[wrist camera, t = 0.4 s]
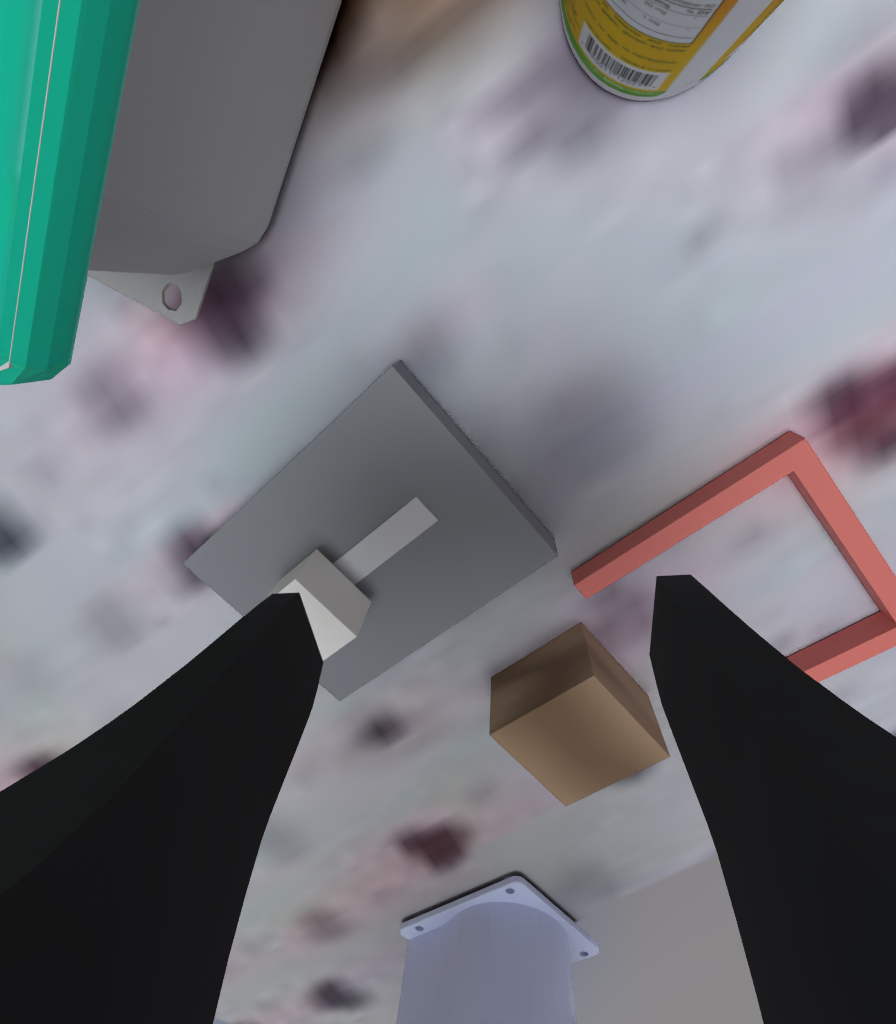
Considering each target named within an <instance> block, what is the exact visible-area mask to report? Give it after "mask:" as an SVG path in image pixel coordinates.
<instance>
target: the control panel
mask: <svg viewBox="0 0 896 1024" xmlns="http://www.w3.org/2000/svg"><path fill="white" fill-rule="evenodd" d="M341 2H342V0H0V385H12V384H20V383H27V382H35V381H42V380H50V379H52V378H53V377H54V376H56V375H57V374H58V373H59V372H60V371H62V370H63V369H64V368H65V367H67V366H68V365H69V364H70V363H71V359H72V353H73V348H74V343H75V338H76V333H77V327H78V322H79V317H80V312H81V307H82V301H83V296H84V291H85V286H86V281H87V275H88V276H90V277H92V278H94V279H96V280H98V281H99V282H101V283H103V284H105V285H107V286H109V287H111V288H112V289H114V290H116V291H118V292H120V293H122V294H123V295H125V296H127V297H129V298H131V299H133V300H135V301H136V302H138V303H140V304H142V305H144V306H146V307H147V308H149V309H151V310H153V311H155V312H157V313H159V314H160V315H162V316H164V317H166V318H168V319H170V320H172V321H173V322H175V323H177V324H179V325H182V324H185V323H188V322H191V321H194V320H196V319H198V317H199V314H200V310H201V307H202V304H203V301H204V298H205V294H206V291H207V288H208V285H209V282H210V278H211V275H212V272H213V269H214V265H215V262H217V261H220V260H222V259H225V258H228V257H230V256H233V255H235V254H238V253H241V252H243V251H245V250H247V249H248V248H250V247H252V246H253V245H255V244H257V243H258V242H259V240H260V239H261V237H262V235H263V234H264V232H265V231H266V229H267V227H268V226H269V223H270V220H271V217H272V214H273V211H274V208H275V205H276V201H277V198H278V195H279V192H280V189H281V186H282V183H283V180H284V177H285V174H286V171H287V168H288V165H289V162H290V158H291V155H292V152H293V149H294V146H295V143H296V140H297V137H298V134H299V131H300V128H301V125H302V122H303V119H304V115H305V112H306V109H307V106H308V103H309V100H310V97H311V94H312V91H313V88H314V85H315V82H316V79H317V75H318V72H319V69H320V66H321V63H322V60H323V57H324V54H325V51H326V48H327V45H328V42H329V39H330V36H331V32H332V29H333V26H334V23H335V20H336V17H337V14H338V11H339V8H340V5H341ZM169 284H175V285H176V286H177V287H178V288H179V289H180V290H181V296H182V304H181V305H180V306H179V307H178V309H177V310H171V309H170V308H169V307H168V306H167V305H166V304H165V300H164V291H165V290H166V288H167V287H168V285H169Z"/></svg>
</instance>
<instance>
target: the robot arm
mask: <svg viewBox="0 0 896 1024" xmlns="http://www.w3.org/2000/svg"><path fill="white" fill-rule="evenodd" d="M650 659H651V663H652V667H653V671H654V675H655V679H656V684H657V687H658V691H659V695H660V699H661V703H662V706H663V709H664V711H665V714H666V717H667V719H668V722H669V725H670V727H671V730H672V733H673V735H674V738H675V741H676V743H677V746H678V749H679V751H680V754H681V756H682V759H683V762H684V764H685V767H686V769H687V772H688V775H689V777H690V780H691V782H692V785H693V788H694V790H695V793H696V795H697V798H698V801H699V803H700V806H701V808H702V811H703V814H704V816H705V819H706V821H707V824H708V827H709V830H710V833H711V836H712V839H713V842H714V845H715V848H716V851H717V854H718V857H719V861H720V864H721V868H722V871H723V875H724V878H725V882H726V885H727V889H728V892H729V896H730V899H731V902H732V906H733V910H734V913H735V917H736V921H737V924H738V928H739V932H740V935H741V939H742V943H743V946H744V950H745V954H746V958H747V961H748V965H749V968H750V972H751V976H752V980H753V984H754V987H755V991H756V995H757V999H758V1003H759V1006H760V1011H761V1014H762V1019H763V1022H764V1024H896V737H895V736H893V735H892V734H890V733H889V732H887V731H886V730H884V729H883V728H881V727H880V726H878V725H877V724H875V723H874V722H872V721H871V720H869V719H868V718H866V717H865V716H864V715H862V714H861V713H859V712H858V711H856V710H855V709H854V708H852V707H851V706H849V705H848V704H847V703H845V702H844V701H842V700H841V699H840V698H838V697H837V696H836V695H834V694H833V693H832V692H830V691H829V690H828V689H826V688H825V687H824V686H822V685H821V684H820V683H818V682H817V681H816V680H814V679H813V678H812V677H810V676H809V675H808V674H806V673H805V672H804V671H802V670H801V669H800V668H799V667H797V666H796V665H795V664H794V663H792V662H791V661H790V660H789V659H787V658H786V657H785V656H784V655H782V654H781V653H780V652H779V651H778V650H776V649H775V648H774V647H773V646H772V645H770V644H769V643H768V642H767V641H766V640H764V639H763V638H762V637H761V636H759V635H758V634H757V633H756V632H755V631H754V630H752V629H751V628H750V627H749V626H748V625H747V624H746V623H744V622H743V621H742V620H741V619H740V618H739V617H738V616H736V615H735V614H734V613H733V612H732V611H731V610H730V609H729V608H727V607H726V606H725V605H724V604H723V603H722V602H721V601H720V600H718V599H717V598H716V597H715V596H714V595H713V594H712V593H711V592H710V591H708V590H707V589H706V588H705V587H704V586H703V585H702V584H701V583H699V582H698V581H697V580H696V579H695V578H694V577H693V576H691V575H674V576H657V578H656V589H655V600H654V611H653V622H652V633H651V644H650ZM322 667H323V660H322V657H321V654H320V651H319V648H318V645H317V642H316V639H315V636H314V634H313V631H312V628H311V625H310V622H309V619H308V616H307V613H306V610H305V607H304V605H303V602H302V599H301V596H300V593H277V594H271V595H270V596H269V597H267V598H266V599H265V600H263V601H262V602H261V603H259V604H258V605H257V606H256V607H255V608H253V609H252V610H251V611H250V612H248V613H247V614H246V615H245V616H244V617H242V618H241V619H240V620H239V621H238V622H237V623H235V624H234V625H233V626H232V627H231V628H229V629H228V630H227V631H226V632H225V633H224V634H222V635H221V636H220V637H219V638H218V639H216V640H215V641H214V642H213V643H212V644H210V645H209V646H208V647H207V648H206V649H204V650H203V651H202V652H201V653H200V654H198V655H197V656H196V657H195V658H194V659H192V660H191V661H190V662H189V663H188V664H186V665H185V666H184V667H182V668H181V669H180V670H179V671H177V672H176V673H175V674H173V675H172V676H171V677H170V678H168V679H167V680H166V681H165V682H163V683H162V684H161V685H159V686H158V687H157V688H156V689H154V690H153V691H152V692H150V693H149V694H148V695H147V696H145V697H144V698H143V699H141V700H140V701H139V702H137V703H136V704H135V705H133V706H132V707H131V708H129V709H128V710H127V711H125V712H124V713H122V714H121V715H120V716H118V717H117V718H115V719H114V720H113V721H111V722H110V723H108V724H107V725H105V726H104V727H102V728H101V729H99V730H98V731H96V732H95V733H93V734H92V735H91V736H89V737H88V738H86V739H85V740H83V741H82V742H80V743H79V744H77V745H76V746H74V747H73V748H71V749H69V750H68V751H66V752H65V753H63V754H62V755H60V756H58V757H57V758H55V759H53V760H52V761H50V762H48V763H47V764H45V765H43V766H42V767H40V768H39V769H37V770H35V771H34V772H32V773H30V774H29V775H27V776H25V777H24V778H22V779H20V780H19V781H17V782H16V783H14V784H12V785H11V786H9V787H7V788H6V789H4V790H2V791H1V792H0V1024H213V1021H214V1016H215V1012H216V1008H217V1004H218V1000H219V996H220V991H221V987H222V983H223V979H224V975H225V971H226V966H227V962H228V958H229V954H230V951H231V947H232V943H233V939H234V936H235V932H236V928H237V924H238V921H239V917H240V913H241V909H242V906H243V902H244V898H245V895H246V891H247V888H248V884H249V881H250V877H251V874H252V871H253V867H254V864H255V860H256V857H257V854H258V850H259V847H260V843H261V840H262V837H263V834H264V831H265V829H266V826H267V823H268V820H269V817H270V814H271V812H272V809H273V807H274V804H275V802H276V799H277V797H278V794H279V792H280V789H281V787H282V784H283V782H284V779H285V777H286V774H287V772H288V769H289V767H290V764H291V762H292V759H293V757H294V754H295V752H296V749H297V746H298V744H299V741H300V739H301V736H302V734H303V731H304V728H305V726H306V723H307V721H308V718H309V715H310V713H311V710H312V707H313V703H314V699H315V696H316V692H317V688H318V684H319V680H320V676H321V671H322ZM400 934H401V935H402V936H403V937H405V938H406V939H407V940H409V941H408V948H407V955H406V962H405V969H404V976H403V982H402V989H401V996H400V1003H399V1010H398V1017H397V1023H396V1024H577V1019H576V1009H575V999H574V989H573V979H572V969H571V963H574V962H577V961H580V960H583V959H586V958H589V957H592V956H595V955H597V954H598V953H599V944H598V943H597V942H596V941H595V940H594V939H593V938H592V937H591V936H589V935H588V934H587V933H586V932H585V931H583V930H582V929H581V928H580V927H579V926H578V925H577V924H576V923H574V922H573V921H572V920H571V919H570V918H569V917H568V916H566V915H565V914H564V913H563V912H562V911H561V910H559V909H558V908H557V907H556V906H555V905H554V904H553V903H551V902H550V901H549V900H548V899H547V898H546V897H545V896H543V895H542V894H541V893H540V892H539V891H538V890H536V889H535V888H534V887H533V886H532V885H531V884H530V883H528V882H527V881H526V880H525V879H524V878H522V877H521V876H512V877H509V878H507V879H505V880H502V881H500V882H498V883H495V884H493V885H490V886H488V887H486V888H483V889H481V890H479V891H476V892H474V893H472V894H469V895H467V896H465V897H462V898H460V899H458V900H455V901H453V902H450V903H448V904H446V905H443V906H441V907H439V908H436V909H434V910H432V911H429V912H427V913H425V914H422V915H420V916H418V917H415V918H413V919H410V920H408V921H406V922H404V923H402V924H401V927H400Z"/></svg>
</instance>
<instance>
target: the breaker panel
mask: <svg viewBox="0 0 896 1024" xmlns="http://www.w3.org/2000/svg"><path fill="white" fill-rule="evenodd" d="M316 549H317V550H318V551H319V552H320V553H321V554H322V555H324V556H325V557H326V558H327V559H328V560H329V561H330V562H331V563H332V564H333V565H334V566H335V567H336V568H337V569H338V570H339V571H340V572H341V573H342V574H343V575H344V576H345V577H346V578H347V579H348V580H349V581H350V582H351V583H352V584H354V585H355V586H356V587H357V588H358V589H359V590H360V591H361V592H362V593H363V594H364V595H365V596H366V597H367V598H368V599H369V600H370V601H371V605H370V607H369V609H368V612H367V614H366V616H365V619H364V621H363V623H362V626H361V628H360V630H359V633H358V635H357V637H356V638H354V639H353V640H352V641H350V642H349V643H347V644H346V645H345V646H343V647H342V648H340V649H339V650H338V651H336V652H335V653H333V654H332V655H331V656H329V657H328V658H327V659H325V660H324V661H323V667H322V671H321V676H320V680H319V684H320V685H322V686H323V687H324V688H325V689H326V690H327V691H328V692H330V693H331V694H332V695H333V696H334V697H335V698H336V699H337V700H339V701H341V700H342V699H344V698H345V697H347V696H348V695H350V694H351V693H353V692H354V691H356V690H357V689H359V688H360V687H362V686H363V685H365V684H366V683H368V682H369V681H371V680H372V679H374V678H375V677H377V676H378V675H380V674H381V673H383V672H384V671H386V670H387V669H389V668H390V667H392V666H393V665H395V664H396V663H398V662H399V661H401V660H402V659H404V658H405V657H407V656H408V655H410V654H411V653H413V652H414V651H416V650H417V649H419V648H420V647H422V646H423V645H425V644H426V643H428V642H429V641H431V640H432V639H434V638H435V637H437V636H438V635H440V634H441V633H443V632H444V631H446V630H447V629H449V628H450V627H452V626H453V625H455V624H456V623H458V622H459V621H461V620H462V619H464V618H465V617H467V616H468V615H470V614H471V613H473V612H474V611H476V610H477V609H479V608H480V607H482V606H483V605H485V604H486V603H488V602H489V601H491V600H492V599H494V598H495V597H497V596H498V595H500V594H501V593H503V592H504V591H505V590H507V589H508V588H510V587H511V586H513V585H514V584H516V583H517V582H519V581H520V580H522V579H523V578H525V577H526V576H528V575H529V574H531V573H532V572H534V571H535V570H537V569H538V568H540V567H541V566H543V565H544V564H546V563H547V562H549V561H550V560H552V559H553V558H555V557H556V556H558V555H557V550H556V545H555V540H554V537H553V536H552V535H551V534H550V532H549V531H548V530H547V529H546V528H545V527H544V526H543V524H542V523H541V522H540V521H539V520H538V519H537V517H536V516H535V515H534V514H533V513H532V512H531V510H530V509H529V508H528V507H527V506H526V505H525V504H524V502H523V501H522V500H521V499H520V498H519V497H518V495H517V494H516V493H515V492H514V491H513V490H512V489H511V487H510V486H509V485H508V484H507V483H506V482H505V480H504V479H503V478H502V477H501V476H500V475H499V474H498V472H497V471H496V470H495V469H494V468H493V467H492V465H491V464H490V463H489V462H488V461H487V460H486V459H485V457H484V456H483V455H482V454H481V453H480V452H479V450H478V449H477V448H476V447H475V446H474V445H473V443H472V442H471V441H470V440H469V439H468V438H467V437H466V435H465V434H464V433H463V432H462V431H461V430H460V428H459V427H458V426H457V425H456V424H455V423H454V422H453V420H452V419H451V418H450V417H449V416H448V415H447V413H446V412H445V411H444V410H443V409H442V408H441V407H440V405H439V404H438V403H437V402H436V401H435V400H434V398H433V397H432V396H431V395H430V394H429V393H428V391H427V390H426V389H425V388H424V387H423V386H422V385H421V383H420V382H419V381H418V380H417V379H416V378H415V376H414V375H413V374H412V373H411V372H410V371H409V370H408V368H407V367H406V366H405V365H404V364H403V363H402V361H401V360H400V361H398V362H397V363H395V364H394V365H392V366H391V367H390V368H389V369H388V370H387V371H386V372H385V373H384V374H383V375H382V376H380V377H379V378H378V379H377V380H376V381H375V382H374V383H373V384H372V385H371V386H370V387H369V388H368V389H367V390H366V391H365V392H364V393H363V394H361V395H360V396H359V397H358V398H357V399H356V400H355V401H354V402H353V403H352V404H351V405H350V406H349V407H348V408H347V409H346V410H345V411H344V412H342V413H341V414H340V415H339V416H338V417H337V418H336V419H335V420H334V421H333V422H332V423H331V424H330V425H329V426H328V427H327V428H326V429H325V430H323V431H322V432H321V433H320V434H319V435H318V436H317V437H316V438H315V439H314V440H313V441H312V442H311V443H310V444H309V445H308V446H307V447H306V448H304V449H303V450H302V451H301V452H300V453H299V454H298V455H297V456H296V457H295V458H294V459H293V460H292V461H291V462H290V463H289V464H288V465H287V466H285V467H284V468H283V469H282V470H281V471H280V472H279V473H278V474H277V475H276V476H275V477H274V478H273V479H272V480H271V481H270V482H269V483H268V484H266V485H265V486H264V487H263V488H262V489H261V490H260V491H259V492H258V493H257V494H256V495H255V496H254V497H253V498H252V499H251V500H250V501H249V502H247V503H246V504H245V505H244V506H243V507H242V508H241V509H240V510H239V511H238V512H237V513H236V514H235V515H234V516H233V517H232V518H231V519H230V520H228V521H227V522H226V523H225V524H224V525H223V526H222V527H221V528H220V529H219V530H218V531H217V532H216V533H215V534H214V535H213V536H212V537H211V538H209V539H208V540H207V541H206V542H205V543H204V544H203V545H202V546H201V547H200V548H199V549H198V550H197V551H196V552H195V553H194V554H193V555H192V556H190V557H189V558H188V559H187V560H186V561H185V562H184V563H183V564H184V565H185V566H186V567H188V568H189V569H190V570H191V571H192V572H193V573H194V574H196V575H197V576H198V577H199V578H200V579H201V580H202V581H203V582H205V583H206V584H207V585H208V586H209V587H210V588H211V589H213V590H214V591H215V592H216V593H217V594H218V595H219V596H220V597H222V598H223V599H224V600H225V601H226V602H227V603H228V604H230V605H231V606H232V607H233V608H234V609H235V610H236V611H238V612H239V613H240V614H241V615H242V616H243V617H244V616H245V615H246V614H247V613H248V612H250V611H251V610H252V609H253V608H255V607H256V606H257V605H258V604H259V603H261V602H262V601H263V600H264V598H265V597H266V596H267V595H268V593H269V592H270V591H271V589H272V588H273V587H274V586H275V584H276V583H277V582H278V581H279V580H280V579H282V578H283V577H284V576H285V575H286V574H288V573H289V572H290V571H291V570H292V569H294V568H295V567H296V566H297V565H298V564H300V563H301V562H302V561H303V560H304V559H306V558H307V557H308V556H309V555H310V554H312V553H313V552H314V551H315V550H316Z"/></svg>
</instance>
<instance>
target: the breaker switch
mask: <svg viewBox="0 0 896 1024" xmlns="http://www.w3.org/2000/svg"><path fill="white" fill-rule="evenodd" d="M277 593H300V596H301V599H302V602H303V605H304V607H305V610H306V613H307V616H308V619H309V622H310V625H311V628H312V631H313V634H314V636H315V639H316V642H317V645H318V648H319V651H320V654H321V657H322V660H323V661H324V660H325V659H327V658H328V657H329V656H331V655H332V654H333V653H335V652H336V651H338V650H339V649H340V648H342V647H343V646H345V645H346V644H347V643H349V642H350V641H352V640H353V639H354V638H356V637H357V635H358V633H359V630H360V628H361V626H362V623H363V621H364V619H365V616H366V614H367V612H368V609H369V607H370V605H371V601H370V600H369V599H368V598H367V597H366V596H365V595H364V594H363V593H362V592H361V591H360V590H359V589H358V588H357V587H356V586H355V585H354V584H352V583H351V582H350V581H349V580H348V579H347V578H346V577H345V576H344V575H343V574H342V573H341V572H340V571H339V570H338V569H337V568H336V567H335V566H334V565H333V564H332V563H331V562H330V561H329V560H328V559H327V558H326V557H325V556H324V555H322V554H321V553H320V552H319V551H318V550H317V549H316V550H315V551H314V552H313V553H312V554H310V555H309V556H308V557H307V558H306V559H304V560H303V561H302V562H301V563H300V564H298V565H297V566H296V567H295V568H294V569H292V570H291V571H290V572H289V573H288V574H286V575H285V576H284V577H283V578H282V579H280V580H279V581H278V582H277V583H276V584H275V586H274V587H273V588H272V589H271V591H270V592H269V593H268V595H267V596H266V597H265V598H264V600H265V599H266V598H267V597H269V596H270V595H271V594H277Z"/></svg>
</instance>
